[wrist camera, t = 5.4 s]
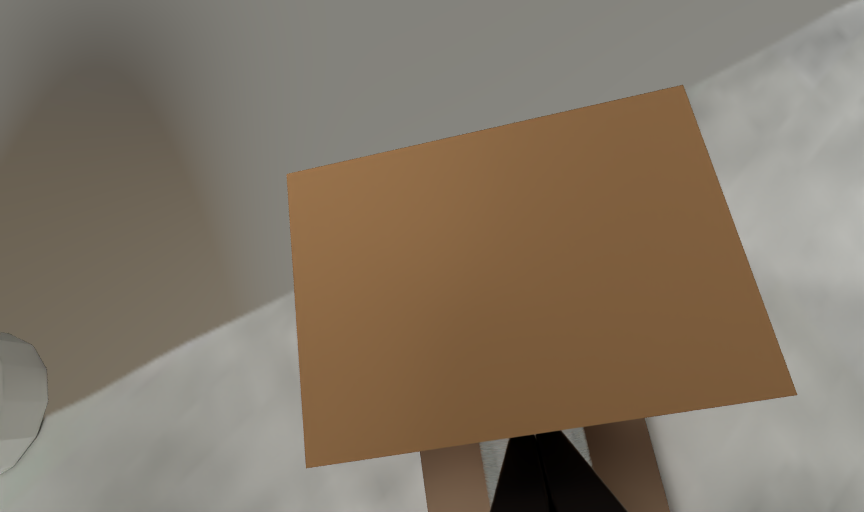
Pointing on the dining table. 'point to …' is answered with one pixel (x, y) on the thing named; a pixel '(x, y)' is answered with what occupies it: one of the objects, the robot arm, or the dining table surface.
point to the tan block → (523, 284)
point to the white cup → (20, 398)
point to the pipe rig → (599, 445)
